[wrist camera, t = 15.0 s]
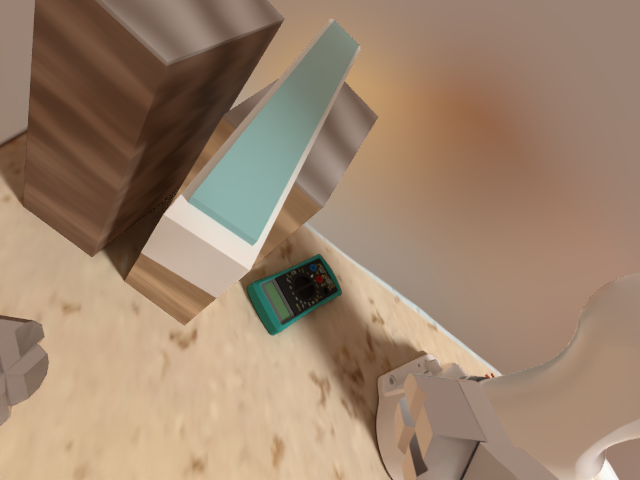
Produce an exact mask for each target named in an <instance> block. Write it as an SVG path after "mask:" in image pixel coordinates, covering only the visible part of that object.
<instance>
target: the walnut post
mask: <svg viewBox="0 0 640 480" xmlns="http://www.w3.org/2000/svg"><path fill="white" fill-rule="evenodd" d="M284 19H285V18H284V17H283V16H282V15H281V14H280V13H279V12H278V11H277V10H276V9H275V8H274V7H273V6H272V5H271V4H270V3H269V2H268V1H267V0H35V14H34V32H33V48H32V64H31V82H30V99H29V116H28V132H27V149H26V166H25V183H24V200H23V206H24V207H25V208H26V209H28V210H29V211H30V212H32V213H33V214H34V215H36V216H37V217H38V218H40V219H41V220H43V221H44V222H45V223H47V224H48V225H49V226H51V227H52V228H53V229H55V230H56V231H57V232H59V233H60V234H61V235H63V236H64V237H66V238H67V239H68V240H70V241H71V242H72V243H74V244H75V245H76V246H78V247H79V248H80V249H82V250H83V251H84V252H86V253H87V254H89V255H90V256H91V257H93V256H94V255H95V254H97V253H98V252H99V251H101V250H102V249H103V248H104V247H106V246H107V245H108V244H109V243H111V242H112V241H113V240H114V239H116V238H117V237H118V236H119V235H121V234H122V233H123V232H124V231H126V230H127V229H128V228H129V227H131V226H132V225H133V224H134V223H136V222H137V221H138V220H139V219H141V218H142V217H143V216H144V215H146V214H147V213H148V212H149V211H151V210H152V209H153V208H154V207H156V206H157V205H158V204H159V203H161V202H162V201H163V200H164V199H166V198H167V197H168V196H169V195H171V194H172V193H173V192H174V191H176V190H177V189H178V188H179V187H181V186H182V184H183V182H184V181H185V179H186V177H187V176H188V174H189V172H190V170H191V169H192V167H193V165H194V164H195V162H196V160H197V159H198V157H199V155H200V154H201V152H202V150H203V149H204V147H205V145H206V144H207V142H208V140H209V139H210V137H211V135H212V134H213V132H214V130H215V129H216V127H217V125H218V124H219V122H220V120H221V119H222V117H223V115H224V114H225V113H227V112H228V111H229V110H230V108H231V107H232V105H233V103H234V102H235V100H236V98H237V97H238V95H239V93H240V92H241V90H242V89H243V87H244V85H245V84H246V82H247V80H248V79H249V77H250V75H251V74H252V72H253V70H254V69H255V67H256V65H257V64H258V62H259V60H260V59H261V57H262V56H263V54H264V52H265V51H266V49H267V47H268V45H269V44H270V42H271V41H272V39H273V37H274V36H275V34H276V32H277V31H278V29H279V27H280V26H281V24H282V22H283V21H284Z"/></svg>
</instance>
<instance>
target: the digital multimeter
mask: <svg viewBox="0 0 640 480" xmlns="http://www.w3.org/2000/svg"><path fill="white" fill-rule="evenodd" d="M247 291H248V294H249V296H250V299H251V301H252V303H253V305H254V308H255V310H256V311H257V313H258V315H259V317H260V319H261V320H262V322H263V324H264V325H265V327H266V328H267V330H268V332H269V333H270V334H271V335H275V334H277V333H279V332H281V331H283V330H284V329H285V328H287V327H288V326H290V325H291V324H293V323H294V322H296V321H297V320H298V319H300V318H301V317H303V316H305V315H306V314H308V313H309V312H311V311H313V310H314V309H316V308H317V307H319V306H321V305H323V304H325V303H326V302H328V301H330V300H332V299H334V298H336V297H338V296H340V295H341V294H342V291H341V289H340V286H339V283H338V281H337V279H336V276H335V275H334V273H333V271H332V269H331V268H330V266H329V265H328V264H327V262H326V261H325V260H324V259H323V257H322V256H321V255H320V254H317V255H316V256H314V257H312V258H310V259H308V260H306V261H304V262H302V263H299V264H297V265H295V266H293V267H291V268H288V269H286V270H284V271H281V272H279V273H276V274H274V275H271V276H268V277H265V278H263V279H260V280H257V281H254V282H253V283H252V284H251V285H249V286H248V287H247ZM332 294H333V295H332ZM327 297H328V298H327Z"/></svg>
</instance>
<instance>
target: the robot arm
mask: <svg viewBox="0 0 640 480" xmlns="http://www.w3.org/2000/svg"><path fill="white" fill-rule="evenodd" d="M43 338H44V333H43V328H42V324H40V323H38V322H36V321H33V320H26V319H20V318H14V317H8V316H2V315H0V426H1V425H2V424H3V423H4V422H5V421H6V420H7V419H8V418H9V417H10V415H11V409H12V406H14V405H16V404H18V403H20V402H22V401H24V400H26V399H28V398H29V397H30V396H31V395H32V394H33V393H34V392H35V391H36V390H37V389H38V388H39V387H40V385H41V383H42V382H43V380H44V378H45V376H46V374H47V370H48V364H49V361H48V355H47V353H46V352H45V350H44V349H43V348H42V347H41V346H40V345H39V343H40V342H41V341H42V340H43ZM485 376H486V377H476V376H469V375H468V374H467V372H466V371H465V370H464V369H463V368H462V367H460V366H459V365H458V364H456V363H447V364H443V365H442V364H441V363H440V362H439V361H438V360H437V359H436V358H435V357H434V356H433V355H432V354H425V355H423V356H421V357H419V358H417V359H414V360H412V361H410V362H408V363H406V364H404V365H402V366H400V367H398V368H396V369H394V370H392V371H390V372H388V373H386V374H384V375H382V376H380V377H379V378H378V394H379V406H378V412H377V421H376V429H377V440H378V445H379V449H380V453H381V456H382V459H383V462H384V464H385V466H386V469H387V471H388V472H389V474H390V476H391V477H392V479H393V480H593V479H594V478H595V477H597V475H598V474H599V473H600V471H601V469H602V467H603V464H604V461H605V456H606V448H607V447H609V446H611V445H614V444H616V443H619V442H623V441H626V440H630V439H636V438H640V273H636V274H631V275H627V276H625V277H621V278H618V279H616V280H614V281H611V282H609V283H607V284H606V285H604V286H603V287H601V288H600V289H598V290H597V291H596V292H595V293H594V294H593V295H592V296H591V297H590V298H589V299H588V301H587V302H586V303H585V305H584V306H583V308H582V310H581V312H580V315H579V318H578V324H577V328H576V331H575V334H574V336H573V338H572V340H571V341H570V343H569V344H568V345H567V347H565V349H564V350H563V351H561V352H560V353H559V354H558V355H557V356H555V357H554V358H552V359H551V360H549V361H547V362H545V363H543V364H541V365H539V366H537V367H533V368H530V369H527V370H523V371H519V372H515V373H512V374H507V375H503V376H499V377H494V375H493V374H492V373H491V376H492V378H490V377H489V376H488V375H487V374H486V375H485Z"/></svg>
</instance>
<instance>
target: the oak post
mask: <svg viewBox="0 0 640 480" xmlns="http://www.w3.org/2000/svg"><path fill="white" fill-rule="evenodd" d="M277 80H278V79H277ZM277 80H276V81H274V82H273V83H271V84H270V85H268V86H267V87H265V88H264V89H262V90H261V91H259V92H258V93H256V94H254V95H253V96H251V97H250V98H248V99H247V100H245V101H244V102H242V103H241V104H239V105H238V106H236V107H235V108H233V109H232V110H230V111H228V112H227V113H225V114H224V115H223V117H222V119H221V120H220V122H219V124H218V125H217V127H216V129H215V130H214V132H213V134H212V135H211V137H210V139H209V140H208V142H207V144H206V145H205V147H204V149H203V150H202V152H201V154H200V155H199V157H198V159H197V160H196V162H195V164H194V165H193V167H192V169H191V170H190V172H189V174H188V176H187V177H186V179H185V181H184V182H183V184H182V186H181V187H180V189H179V191H178V192H177V194H176V196H175V197H174V199H173V201H172V202H171V204H170V206H171V205H172V204H173V203H174V201H175V200H176V199H177V198H178V197H179V196H180V194H181V193H182V192H183V191H184V190H185V188H186V187H187V186H188V185H189V184H190V183H191V181H192V180H193V179H194V178H195V177H196V176H197V174H198V173H199V172H200V171H201V170H202V169H203V167H204V166H205V165H206V164H207V163H208V161H209V160H210V159H211V158H212V157H213V156H214V154H215V153H216V152H217V151H218V150H219V149H220V147H221V146H222V145H223V144H224V143H225V142H226V140H227V139H228V138H229V137H230V136H231V134H232V133H233V132H234V131H235V130H236V129H237V127H238V126H239V125H240V124H241V123H242V122H243V120H244V119H245V118H246V117H247V116H248V115H249V113H250V112H251V111H252V110H253V109H254V107H255V106H256V105H257V104H258V103H259V102H260V100H261V99H262V98H263V97H264V96H265V95H266V93H267V92H268V91H269V90H270V89H271V88H272V86H273V85H274V84H275V83H276V82H277ZM377 118H378V116H377V115H376V114H375V113H374V112H373V111H372V110H371V109H370V108H369V107H368V106H367V104H366V103H365V102H364V101H363V100H362V99H361V98H360V97H359V96H358V95H357V94H356V93H355V92H354V91H353V90H352V89H351V88H350V87H349V86H348V84H346V83H345V81H344V83H343V85H342V87H341V89H340V91H339V93H338V95H337V97H336V99H335V101H334V103H333V105H332V107H331V109H330V111H329V114H328V116H327V118H326V120H325V122H324V124H323V126H322V128H321V130H320V132H319V134H318V136H317V138H316V140H315V142H314V144H313V146H312V148H311V150H310V152H309V154H308V156H307V158H306V160H305V162H304V164H303V166H302V168H301V170H300V172H299V174H298V176H297V178H296V180H295V182H294V184H293V186H292V188H291V190H290V192H289V194H288V196H287V198H286V200H285V202H284V204H283V206H282V208H281V210H280V212H279V214H278V216H277V218H276V220H275V222H274V224H273V226H272V228H271V230H270V232H269V234H268V236H267V238H266V240H265V242H264V244H263V246H262V248H261V250H260V252H259V254H258V256H257V258H256V260H255V262H254V264H253V266H252V267H254V266H255V265H256V264H257V263H258V262H259V261H261V260H262V259H263V258H264V257H265V256H266V255H268V254H269V253H270V252H271V251H272V250H273V249H275V248H276V247H277V246H278V245H279V244H281V243H282V242H283V241H284V240H285V239H286V238H288V237H289V236H290V235H291V234H292V233H293V232H295V231H296V230H297V229H298V228H299V227H300V226H302V225H303V224H304V223H305V222H306V221H307V220H309V219H310V218H311V217H312V216H313V215H314V214H316V213H317V212H318V211H319V210H320V209H321V208H323V207H324V205H325V204H326V202H327V200H328V199H329V197H330V196H331V194H332V192H333V191H334V189H335V187H336V186H337V184H338V182H339V181H340V179H341V177H342V176H343V174H344V173H345V171H346V169H347V168H348V166H349V164H350V163H351V161H352V159H353V158H354V156H355V154H356V153H357V151H358V149H359V148H360V146H361V145H362V143H363V141H364V140H365V138H366V136H367V135H368V133H369V131H370V130H371V128H372V126H373V125H374V123H375V121H376V120H377ZM170 206H169V207H170ZM169 207H168V208H169ZM167 210H168V209H167ZM125 282H126V283H128V284H129V285H130V286H132V287H133V288H135V289H136V290H137V291H139V292H140V293H141V294H143V295H144V296H145V297H147V298H148V299H149V300H151V301H152V302H153V303H155V304H156V305H158V306H159V307H160V308H162V309H163V310H164V311H166V312H167V313H168V314H170V315H171V316H172V317H174V318H175V319H176V320H178V321H179V322H181V323H182V324H183V325H186V324H187V323H188V322H189V321H190V320H191V319H193V318H194V317H195V316H196V315H197V314H198V313H200V312H201V311H202V310H203V309H204V308H205V307H207V306H208V305H209V304H210V303H211V302H213V301H214V300H215V299H216V298H215V297H214V296H212V295H210V294H209V293H207V292H205V291H204V290H202V289H200V288H199V287H197V286H195V285H194V284H192V283H190V282H189V281H187V280H185V279H184V278H182V277H180V276H179V275H177V274H175V273H174V272H172V271H170V270H169V269H167V268H165V267H164V266H162V265H160V264H159V263H157V262H155V261H154V260H152V259H150V258H149V257H147V256H145V255H144V254H142V253H141V254H140V256H139V257H138V259H137V261H136V262H135V264H134V266H133V267H132V269H131V271H130V272H129V274H128V276H127V277H126V279H125Z"/></svg>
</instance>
